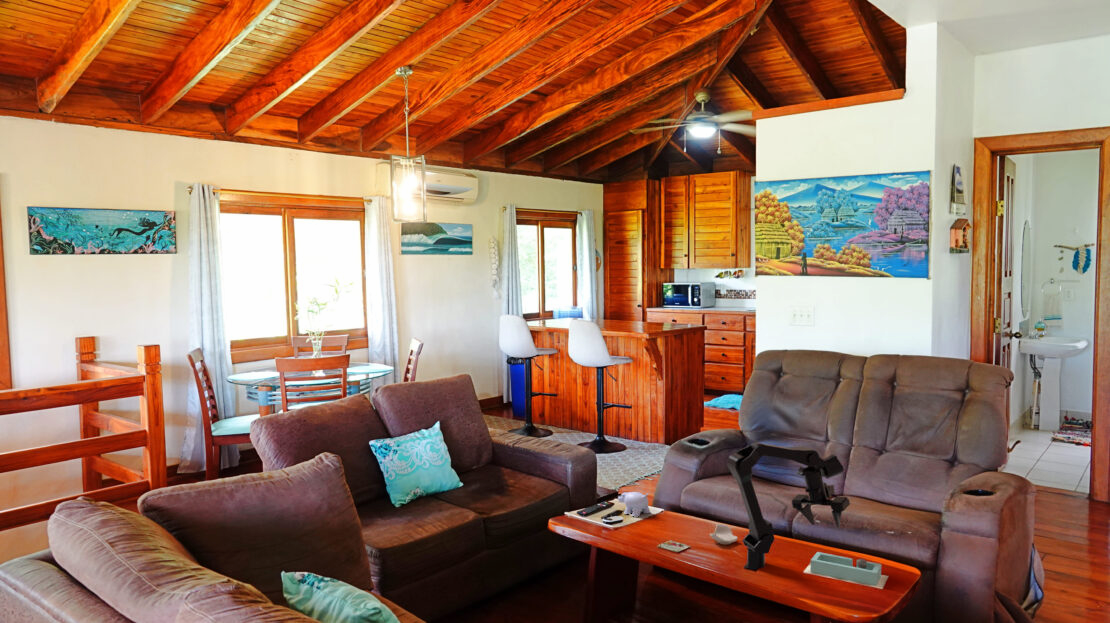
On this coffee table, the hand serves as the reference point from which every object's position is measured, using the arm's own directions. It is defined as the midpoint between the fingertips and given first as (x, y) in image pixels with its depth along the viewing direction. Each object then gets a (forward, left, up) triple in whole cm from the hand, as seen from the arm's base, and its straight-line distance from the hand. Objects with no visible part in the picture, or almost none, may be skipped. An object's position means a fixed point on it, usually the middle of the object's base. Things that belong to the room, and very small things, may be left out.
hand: (826, 525), depth 253 cm
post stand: (-10, -9, -13) cm, 18 cm away
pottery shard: (0, +36, -13) cm, 38 cm away
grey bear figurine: (+14, +80, -13) cm, 83 cm away
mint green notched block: (-10, -9, -12) cm, 18 cm away
